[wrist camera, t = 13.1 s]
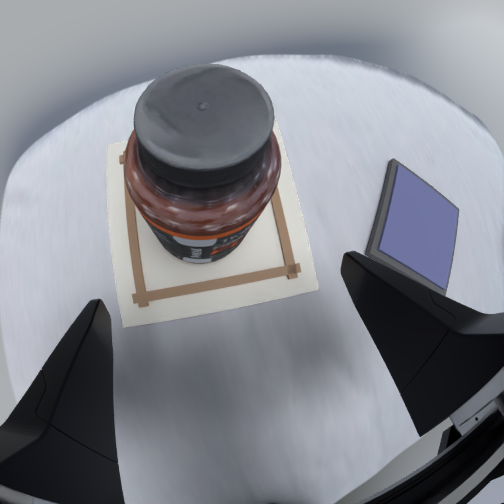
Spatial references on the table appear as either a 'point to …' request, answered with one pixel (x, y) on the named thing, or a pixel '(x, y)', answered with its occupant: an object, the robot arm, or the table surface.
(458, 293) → the table surface
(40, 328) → the table surface
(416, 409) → the robot arm
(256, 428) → the table surface
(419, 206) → the ink pad
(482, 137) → the table surface
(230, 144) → the supplement bottle
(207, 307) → the marked sheet
